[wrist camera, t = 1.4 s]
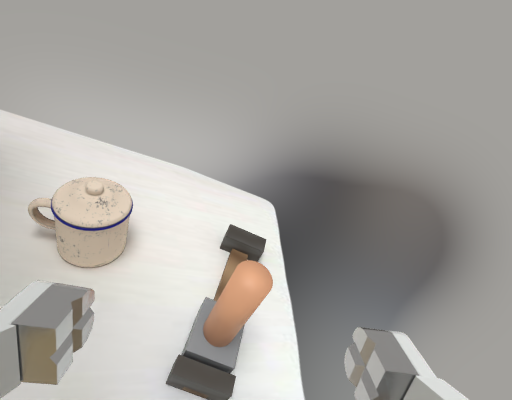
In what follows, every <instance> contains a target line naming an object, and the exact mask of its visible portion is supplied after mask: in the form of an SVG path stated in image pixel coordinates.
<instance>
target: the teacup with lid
mask: <svg viewBox="0 0 512 400" xmlns="http://www.w3.org/2000/svg"><path fill="white" fill-rule="evenodd" d="M37 207H48V208H51V210H52V212H53V214H54V218H55V221H54V220H50V219H48V218H46V217H45V216H43V215H42V214H41V213H40V212H39V210H38V208H37ZM132 208H133V202H132V199H131V196H130V194H129V193H128V191H127V190H126V189H125V188H124V187H122V186H121V185H120V184H118V183H116V182H114V181H111V180H108V179H104V178H96V177H87V178H80V179H76V180H72V181H70V182H68V183H66V184H64V185H63V186H61V187H60V188H59V189H58V190H57V191H56V192H55V194H54V196H53V197H52V199H49V198H38V199H35V200H33V201H32V202H31V203H30V205H29V207H28V212H29V214H30V216H31V218H32V219H33V220H34V221H35V222H37V223H38V224H40V225H41V226H43V227H46V228H50V229H54V230H56V238H57V248H58V251H59V254H60V255H61V256H62V258H63V259H65V260H66V261H67V262H69V263H71V264H73V265H76V266H80V267H98V266H102V265H105V264H107V263H110V262H111V261H113V260H115V259H116V258H117V257H118V256H119V255H120V254H121V253H122V252H123V250H124V248H125V244H126V237H127V230H128V223H129V216H130V214H131V212H132Z"/></svg>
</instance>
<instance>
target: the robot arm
mask: <svg viewBox="0 0 512 400" xmlns="http://www.w3.org/2000/svg"><path fill="white" fill-rule="evenodd" d="M93 302H94V291H93V290H92V289H90V288H84V287H78V286H72V285H66V284H60V283H52V282H46V281H40V280H37V281H34V282H32V283H30V284H29V285H28V286H27V287H26V288H25V289H23V290H22V291H21V292H20V293H19V294H17V295H16V296H15V297H14V298H13V299H12V300H10V301H9V302H8V303H7V304H6V305H5V306H3V307H2V308H1V309H0V398H1V397H3V396H4V395H6V394H7V393H9V392H10V391H11V390H13V389H14V388H16V387H17V386H19V385H20V384H21V382H28V383H41V384H54V385H57V384H58V383H59V381H60V380H61V378H62V377H63V375H64V374H65V372H66V371H67V369H68V368H69V366H70V365H71V363H72V362H73V352H75V351H77V350H79V349H80V348H82V347H83V345H84V343H85V342H86V340H87V339H88V336H89V334H90V331H91V329H92V325H93V321H94V312H93V311H92V310H91V308H90V306H91V304H92V303H93ZM352 337H353V339H354V343H353V344H351V345H350V346H349V347H348V348H347V351H346V354H345V370H346V374H347V377H348V379H349V381H350V382H351V383H352V384H353V385H354V386H355V387H356V390H355V393H354V395H355V398H356V400H469V399H468V398H466V397H465V396H464V395H462V394H461V393H460V392H458V391H457V390H456V389H454V388H453V387H452V386H450V385H449V384H448V383H447V382H445V381H444V380H443V379H438V378H437V377H436V376H435V374H434V373H433V372H432V370H431V369H430V367H429V366H428V364H427V363H426V362H425V360H424V359H423V357H422V356H421V354H420V353H419V352H418V350H417V349H416V347H415V346H414V344H413V343H412V342H411V340H410V339H409V337H408V336H407V335H406V334H404V333H403V332H395V331H385V330H377V329H370V328H362V327H358V328H357V329H356V330H355V332H354V334H353V336H352Z"/></svg>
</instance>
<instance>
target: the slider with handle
mask: <svg viewBox="0 0 512 400" xmlns="http://www.w3.org/2000/svg"><path fill="white" fill-rule="evenodd" d="M272 285H273V280H272V276H271V274H270V272H269V271H268V269H267V268H266V267H265V266H263V265H262V264H260V263H258V262H256V261H252V260H247V261H243V262H241V263H240V264H238V266H237V267H236V269H235V271H234V272H233V274H232V276H231V278H230V279H229V281H228V283H227V285H226V286H225V288H224V290H223V292H222V293H221V295H220V297H219V299H218V300H217V301H214V300H212V299H209V298H207V297H206V298H205V300H204V301H203V303H202V305H201V307H200V309H199V311H198V314H197V317H196V319H195V322H194V324H193V327H192V330H191V332H190V335H189V337H188V340H187V342H186V345H185V348H184V350H183V353H182V356H184V357H187V358H190V359H192V360H195V361H197V362H200V363H203V364H205V365H208V366H211V367H213V368H216V369H218V370H221V371H224V372H226V373H229V374H230V373H231V372H232V371H233V369H234V368H235V364H236V359H237V355H238V351H239V346H240V342H241V338H242V333H243V329H244V325H245V323H246V322H247V320H248V319H249V318H250V316H251V315H252V314H253V313H254V311H255V310H256V309H257V307H258V306H259V305H260V303H261V302H262V301H263V300H264V298H265V297H266V296H267V294H268V293H269V292H270V290H271V288H272Z"/></svg>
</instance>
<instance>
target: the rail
mask: <svg viewBox="0 0 512 400" xmlns="http://www.w3.org/2000/svg"><path fill="white" fill-rule="evenodd" d="M265 243H266V239H264V238H262V237H259V236H257V235H255V234H252V233H250V232H248V231H245V230H243V229H241V228H238V227H236V226H234V225H231V224H230V226H229V228H228V230H227V232H226V234H225V237H224V239H223V242H222V244H221V247H220V249H223V250H225V251H228V252H230V255H229V258H228V261H227V263H226V266H225V269H224V272H223V275H222V278H221V280H220V283H219V286H218V289H217V292H216V295H215V297H214V301H217V300H218V299H219V297H220V295H221V293H222V292H223V290H224V288H225V286H226V285H227V283H228V281H229V279H230V278H231V276H232V274H233V272H234V271H235V269H236V267H237V266H238V264H240V263H241V262H243V261H247V260H252V261H256V262H257V261H258V260H259V258H260V257H261V255H262V253H263V252H264V248H265ZM235 378H236V376H234V375H232V374H229V373H226V372H224V371H221V370H218V369H216V368H213V367H211V366H208V365H205V364H203V363H200V362H197V361H195V360H192V359H190V358H187V357H184V356H182V355H178V357H177V359H176V361H175V363H174V365H173V367H172V369H171V372H170V374H169V377H168V379H167V382H166V384H168V385H170V386H173V387H176V388H178V389H181V390H184V391H187V392H189V393H192V394H195V395H197V396H200V397H203V398H206V399H208V400H228V399H229V398H230V397H231V396H232V392H233V387H234V383H235Z"/></svg>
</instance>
